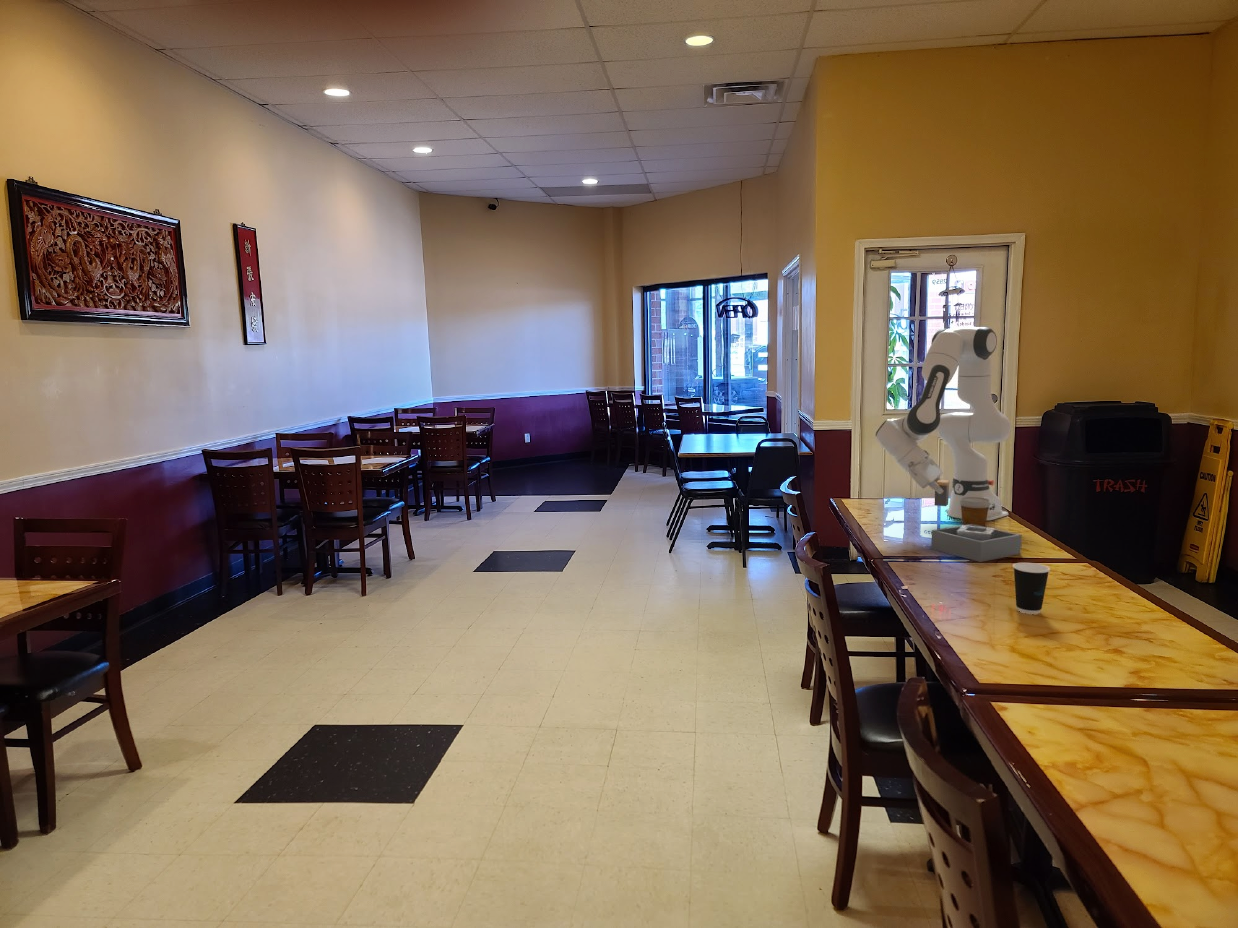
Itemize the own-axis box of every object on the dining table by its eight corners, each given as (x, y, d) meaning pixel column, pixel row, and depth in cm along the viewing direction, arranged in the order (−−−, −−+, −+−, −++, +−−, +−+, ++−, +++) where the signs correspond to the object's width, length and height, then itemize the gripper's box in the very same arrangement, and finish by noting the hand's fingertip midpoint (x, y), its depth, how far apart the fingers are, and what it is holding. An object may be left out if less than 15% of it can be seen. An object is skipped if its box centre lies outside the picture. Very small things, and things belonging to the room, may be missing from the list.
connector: (936, 503, 259) (937, 479, 258) (948, 504, 257) (949, 480, 256) (934, 505, 256) (934, 481, 255) (946, 506, 254) (947, 482, 253)
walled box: (970, 541, 252) (971, 523, 251) (1020, 553, 236) (1021, 534, 235) (931, 548, 244) (931, 530, 243) (980, 561, 228) (981, 542, 227)
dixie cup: (1047, 618, 179) (1050, 573, 178) (1009, 613, 183) (1011, 568, 182) (1047, 608, 186) (1050, 564, 185) (1011, 603, 190) (1013, 560, 189)
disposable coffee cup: (993, 536, 257) (995, 501, 256) (965, 537, 258) (966, 502, 256) (981, 530, 267) (982, 496, 265) (953, 530, 267) (955, 496, 265)
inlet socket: (961, 543, 246) (962, 524, 245) (994, 546, 241) (995, 528, 240) (956, 549, 238) (957, 530, 237) (989, 553, 233) (990, 534, 232)
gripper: (913, 459, 249) (944, 491, 245) (927, 450, 266) (957, 479, 262) (899, 471, 252) (929, 503, 249) (914, 462, 269) (942, 491, 265)
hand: (943, 491), depth 256 cm, fingers closed on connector, 4 cm apart
